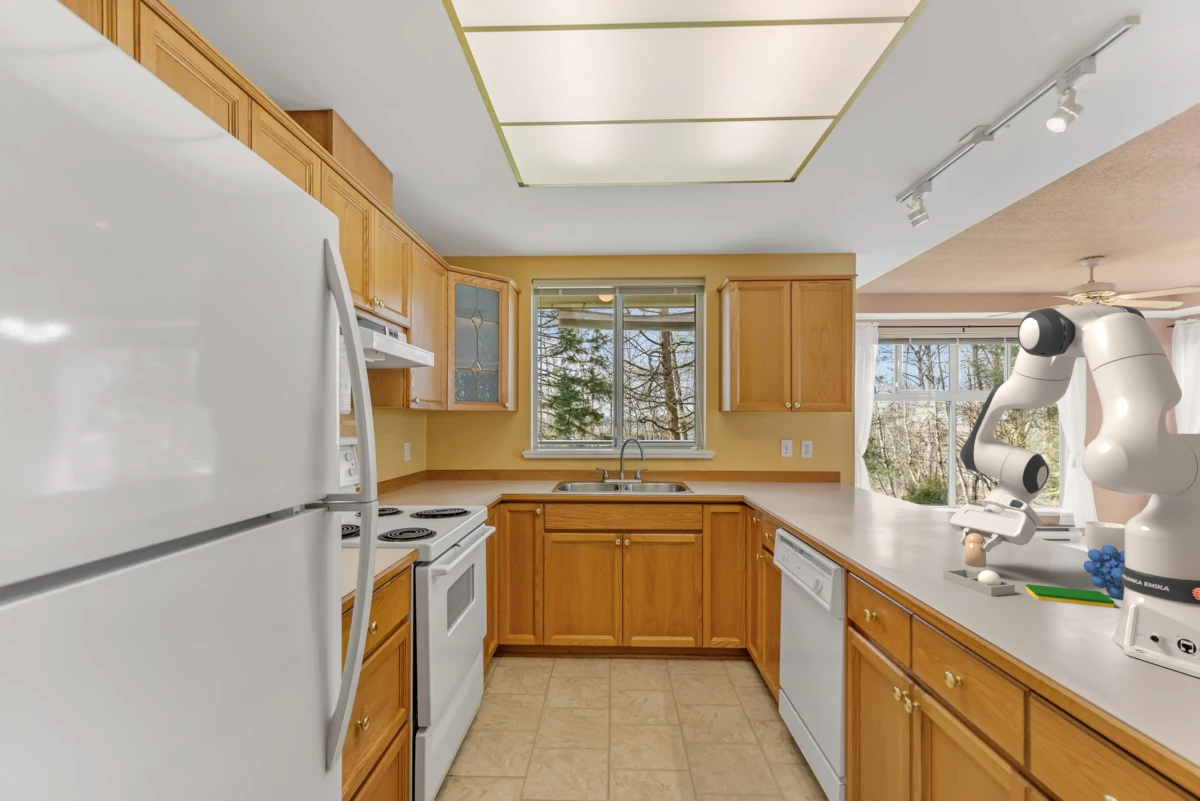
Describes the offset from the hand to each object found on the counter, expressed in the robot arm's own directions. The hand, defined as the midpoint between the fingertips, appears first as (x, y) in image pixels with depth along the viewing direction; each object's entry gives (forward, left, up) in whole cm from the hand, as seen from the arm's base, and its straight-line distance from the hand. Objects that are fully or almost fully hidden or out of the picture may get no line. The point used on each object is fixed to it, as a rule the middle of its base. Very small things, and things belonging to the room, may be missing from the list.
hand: (973, 547), depth 143 cm
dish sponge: (-20, -5, -8) cm, 22 cm away
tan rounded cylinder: (0, -1, -5) cm, 5 cm away
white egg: (-11, +7, -7) cm, 15 cm away
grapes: (-22, -17, -8) cm, 28 cm away
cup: (-4, -41, -8) cm, 42 cm away
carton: (-8, +7, -8) cm, 13 cm away
